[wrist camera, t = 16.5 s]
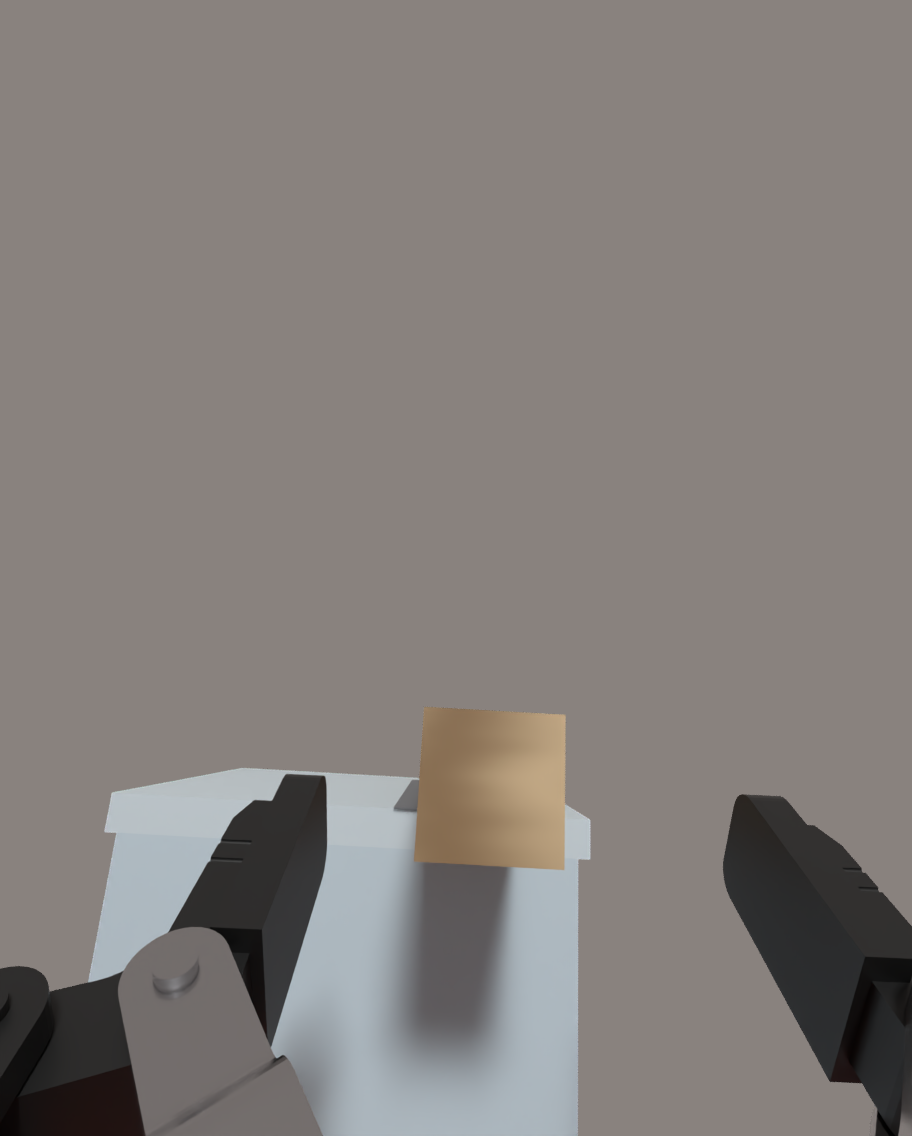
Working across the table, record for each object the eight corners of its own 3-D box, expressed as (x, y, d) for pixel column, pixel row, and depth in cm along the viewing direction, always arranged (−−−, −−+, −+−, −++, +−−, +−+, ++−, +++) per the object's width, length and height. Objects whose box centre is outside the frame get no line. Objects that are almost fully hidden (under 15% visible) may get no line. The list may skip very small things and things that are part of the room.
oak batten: (413, 861, 12) (424, 706, 13) (433, 776, 33) (437, 720, 34) (564, 870, 12) (565, 715, 13) (487, 779, 33) (490, 724, 34)
